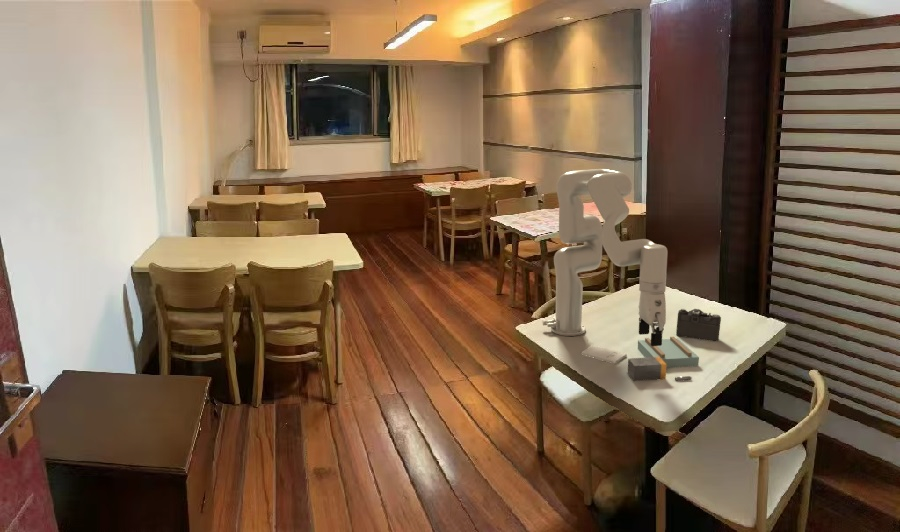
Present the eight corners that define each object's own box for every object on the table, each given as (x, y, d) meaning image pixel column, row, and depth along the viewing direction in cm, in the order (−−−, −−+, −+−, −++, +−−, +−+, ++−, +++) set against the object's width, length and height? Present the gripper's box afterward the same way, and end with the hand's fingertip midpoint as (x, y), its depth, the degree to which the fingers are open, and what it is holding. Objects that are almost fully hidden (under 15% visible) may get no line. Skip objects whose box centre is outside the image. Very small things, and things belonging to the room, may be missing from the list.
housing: (633, 381, 195) (634, 366, 194) (627, 373, 200) (628, 358, 199) (665, 379, 196) (666, 364, 194) (658, 371, 201) (659, 356, 200)
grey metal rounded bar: (675, 381, 194) (675, 378, 194) (673, 380, 195) (674, 376, 195) (692, 380, 194) (692, 377, 194) (690, 379, 196) (690, 375, 195)
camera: (720, 332, 231) (722, 306, 229) (718, 342, 222) (721, 315, 219) (678, 326, 237) (680, 301, 235) (675, 337, 228) (677, 310, 225)
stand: (655, 368, 203) (656, 356, 202) (637, 348, 218) (638, 337, 217) (698, 365, 204) (699, 353, 203) (677, 346, 219) (678, 335, 218)
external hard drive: (593, 348, 221) (626, 357, 213) (581, 356, 215) (614, 365, 207) (593, 344, 220) (626, 353, 212) (581, 351, 215) (615, 361, 207)
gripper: (676, 293, 182) (673, 349, 186) (653, 277, 198) (651, 329, 203) (651, 294, 181) (648, 351, 185) (629, 278, 198) (627, 330, 202)
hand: (649, 339), depth 194 cm, fingers open, 9 cm apart
